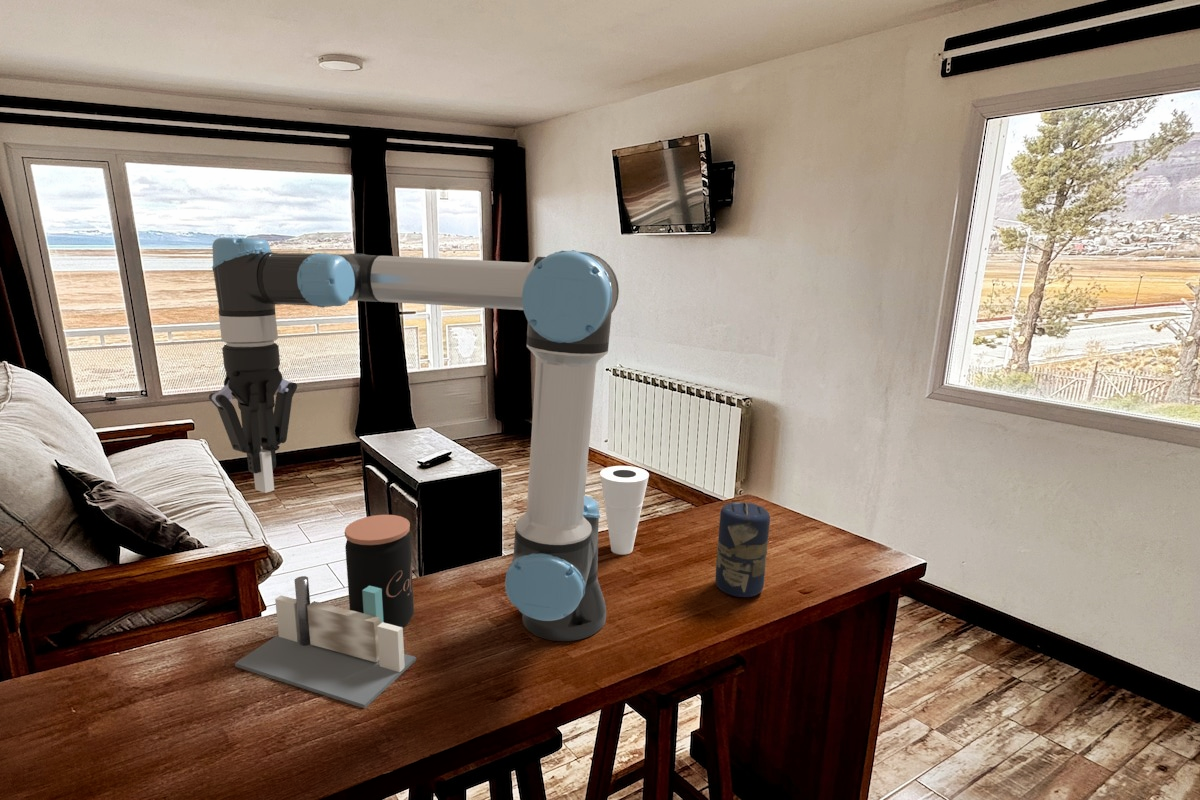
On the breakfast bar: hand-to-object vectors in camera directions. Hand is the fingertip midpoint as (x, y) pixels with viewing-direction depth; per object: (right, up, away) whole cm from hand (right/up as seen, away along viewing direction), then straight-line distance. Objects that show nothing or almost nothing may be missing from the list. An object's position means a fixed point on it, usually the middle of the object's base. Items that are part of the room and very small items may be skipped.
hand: (264, 489), depth 101 cm
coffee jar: (+15, -25, +11) cm, 31 cm away
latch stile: (+17, -27, +1) cm, 32 cm away
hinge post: (+5, -26, +4) cm, 27 cm away
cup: (+58, -19, +41) cm, 74 cm away
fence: (+11, -26, +1) cm, 29 cm away
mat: (+10, -27, -1) cm, 29 cm away
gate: (+13, -26, +1) cm, 29 cm away
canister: (+81, -24, +25) cm, 88 cm away
